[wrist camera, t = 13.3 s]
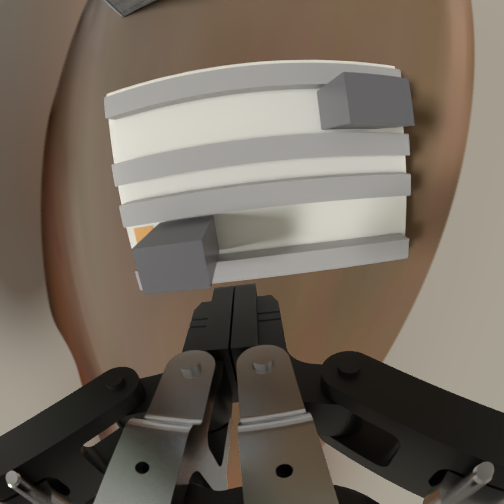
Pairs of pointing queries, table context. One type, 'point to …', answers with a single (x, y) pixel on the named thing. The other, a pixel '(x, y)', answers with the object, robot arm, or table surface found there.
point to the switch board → (260, 168)
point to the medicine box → (127, 5)
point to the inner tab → (365, 102)
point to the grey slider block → (178, 255)
